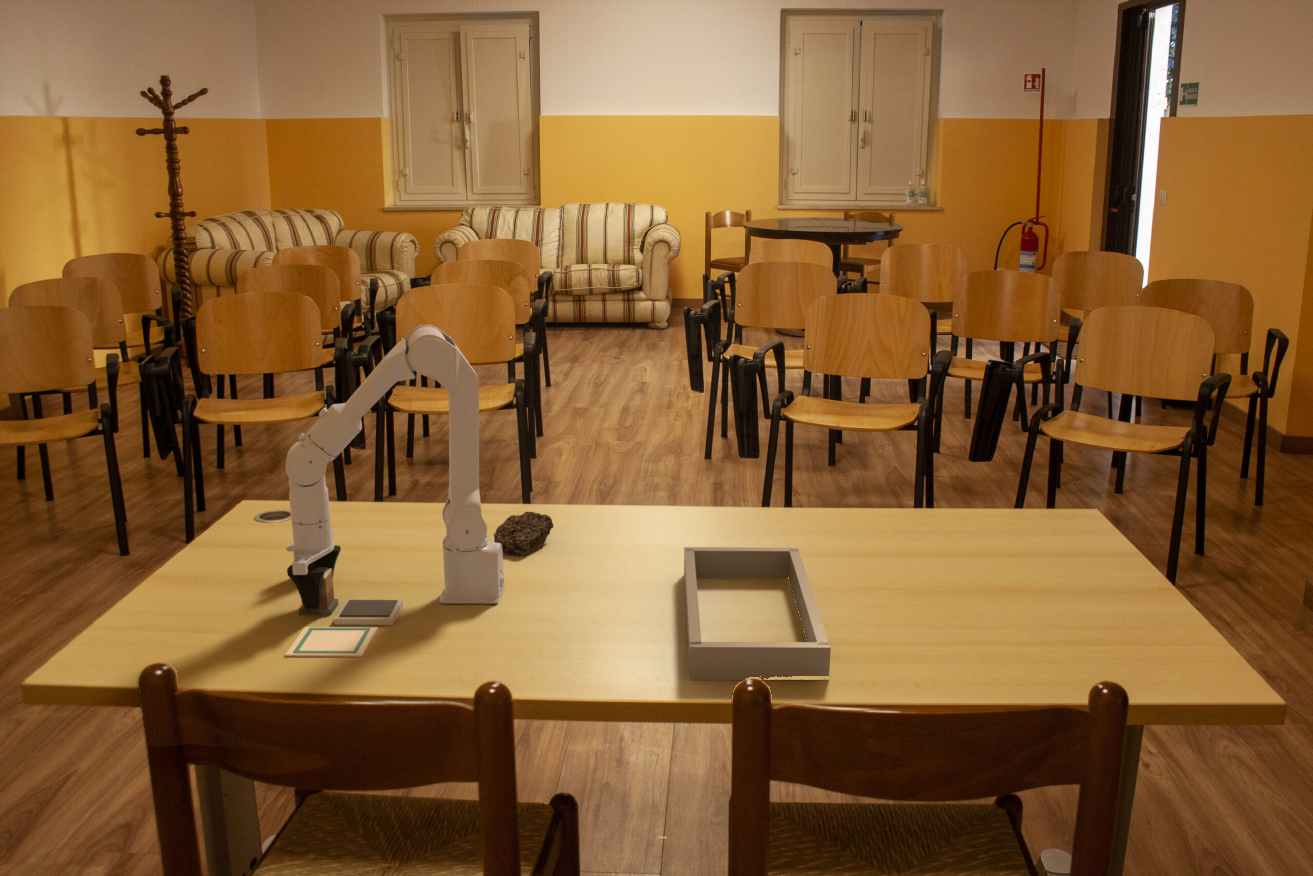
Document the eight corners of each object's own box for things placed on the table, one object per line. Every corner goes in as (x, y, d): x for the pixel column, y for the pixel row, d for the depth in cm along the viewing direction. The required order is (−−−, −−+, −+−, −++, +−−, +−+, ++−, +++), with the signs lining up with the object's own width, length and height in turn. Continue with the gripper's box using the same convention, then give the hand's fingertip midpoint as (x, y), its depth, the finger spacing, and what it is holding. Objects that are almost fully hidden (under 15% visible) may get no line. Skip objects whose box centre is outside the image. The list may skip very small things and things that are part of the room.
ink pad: (403, 605, 175) (402, 598, 175) (393, 624, 168) (392, 617, 168) (346, 605, 175) (346, 598, 175) (334, 624, 168) (333, 616, 168)
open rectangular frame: (796, 575, 187) (797, 547, 186) (828, 680, 152) (830, 647, 150) (684, 574, 187) (684, 547, 186) (689, 680, 152) (690, 647, 150)
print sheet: (377, 629, 167) (377, 626, 167) (362, 656, 158) (361, 654, 158) (305, 628, 167) (304, 626, 167) (285, 656, 158) (285, 653, 158)
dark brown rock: (522, 530, 208) (521, 505, 207) (563, 542, 203) (562, 516, 201) (479, 548, 199) (478, 522, 198) (520, 560, 194) (519, 533, 192)
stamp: (338, 604, 175) (335, 567, 174) (331, 615, 172) (327, 577, 170) (307, 604, 175) (303, 567, 174) (299, 615, 172) (295, 577, 170)
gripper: (299, 503, 176) (306, 581, 180) (268, 535, 162) (277, 619, 166) (343, 503, 176) (350, 581, 180) (316, 535, 162) (323, 619, 166)
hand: (318, 600), depth 173 cm, fingers open, 5 cm apart
